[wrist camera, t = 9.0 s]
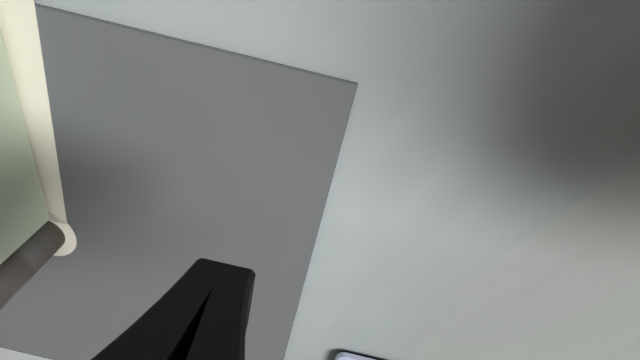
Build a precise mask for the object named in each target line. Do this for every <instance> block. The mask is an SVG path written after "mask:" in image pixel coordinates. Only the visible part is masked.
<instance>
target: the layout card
mask: <svg viewBox="0 0 640 360" xmlns="http://www.w3.org/2000/svg"><path fill="white" fill-rule="evenodd" d="M0 29H1V33H2V37H3V41H4V45H5V49H6V53H7V56H8V60H9V64H10V68H11V72H12V76H13V80H14V84H15V87H16V91H17V95H18V99H19V103H20V107H21V111H22V114H23V118H24V122H25V126H26V130H27V134H28V138H29V142H30V145H31V149H32V153H33V157H34V161H35V165H36V169H37V172H38V176H39V180H40V184H41V188H42V192H43V196H44V200H45V203H46V207H47V211H48V215H49V221H51V222H53V223H54V224H56V225H57V226H58V227H59V228H60V229H61V230H62V231H63V233H64V235H65V243H64V244H63V245H62V247H61V248H60V249H59V250H58V251H57V252H56V253H55V254H54V255H53V256H52V257H51V258H50V259H49V260H48V261H47V262H46V263H45V264H44V265H43V266H42V267H41V268H40V269H39V270H38V271H37V272H36V273H35V275H34V276H33V277H32V278H31V279H30V280H29V281H28V282H27V283H26V284H25V285H24V286H23V287H22V288H21V289H20V290H19V291H18V292H17V293H16V294H15V295H14V296H13V297H12V298H11V299H10V300H9V301H8V303H7V304H6V305H5V306H4V307H3V308H2V309H1V310H0V347H1V348H5V349H10V350H14V351H18V352H22V353H27V354H31V355H35V356H39V357H43V358H48V359H52V360H91V359H92V358H93V357H95V356H96V355H97V354H98V353H99V352H101V351H102V350H103V349H104V348H105V347H106V346H108V345H109V344H110V343H111V342H112V341H114V340H115V339H116V338H117V337H118V336H120V335H121V334H122V333H123V332H124V331H125V330H127V329H128V328H129V327H130V326H131V325H132V324H133V323H134V322H135V321H137V320H138V319H139V318H140V317H141V316H142V315H143V314H144V313H145V312H146V311H147V310H148V309H149V308H151V307H152V306H153V305H154V304H155V303H156V302H157V301H158V300H159V299H160V298H161V297H162V296H163V295H164V294H165V293H166V292H167V291H168V290H169V289H170V288H171V287H172V286H173V285H174V284H175V283H176V282H177V281H178V280H179V279H180V278H181V277H182V276H183V275H184V274H185V273H186V271H187V270H188V269H189V268H190V267H191V266H192V265H193V264H194V263H195V261H196V260H198V259H200V258H205V259H209V260H213V261H218V262H222V263H226V264H231V265H235V266H240V267H244V268H248V269H252V270H253V271H254V273H255V274H256V275H255V282H254V288H253V295H252V301H251V307H250V314H249V320H248V325H247V329H246V333H245V360H283V359H284V355H285V351H286V348H287V344H288V340H289V337H290V333H291V329H292V326H293V322H294V318H295V315H296V311H297V307H298V303H299V300H300V296H301V292H302V289H303V285H304V281H305V278H306V274H307V270H308V266H309V263H310V259H311V255H312V252H313V248H314V244H315V241H316V237H317V233H318V229H319V226H320V222H321V218H322V215H323V211H324V207H325V204H326V200H327V196H328V192H329V189H330V185H331V181H332V178H333V174H334V170H335V167H336V163H337V159H338V155H339V152H340V148H341V144H342V141H343V137H344V133H345V130H346V126H347V122H348V119H349V115H350V111H351V107H352V104H353V100H354V96H355V93H356V89H357V85H358V83H355V82H351V81H347V80H343V79H339V78H335V77H331V76H327V75H323V74H319V73H315V72H311V71H307V70H303V69H299V68H295V67H291V66H287V65H283V64H279V63H275V62H270V61H266V60H262V59H258V58H254V57H250V56H246V55H242V54H238V53H234V52H230V51H226V50H222V49H218V48H214V47H210V46H206V45H202V44H198V43H194V42H190V41H185V40H181V39H177V38H173V37H169V36H165V35H161V34H157V33H153V32H149V31H145V30H141V29H137V28H133V27H129V26H125V25H121V24H117V23H113V22H109V21H105V20H100V19H96V18H92V17H88V16H84V15H80V14H76V13H72V12H68V11H64V10H60V9H56V8H52V7H48V6H44V5H40V4H36V3H34V0H0Z"/></svg>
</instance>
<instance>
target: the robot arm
mask: <svg viewBox="0 0 640 360" xmlns="http://www.w3.org/2000/svg"><path fill="white" fill-rule="evenodd" d="M255 275H256V274H255V273H254V271H253V270H252V269H248V268H244V267H240V266H235V265H231V264H226V263H222V262H218V261H213V260H209V259H205V258H200V259H198V260H196V261H195V263H194V264H193V265H192V266H191V267H190V268H189V269H188V270H187V271H186V273H185V274H184V275H183V276H182V277H181V278H180V279H179V280H178V281H177V282H176V283H175V284H174V285H173V286H172V287H171V288H170V289H169V290H168V291H167V292H166V293H165V294H164V295H163V296H162V297H161V298H160V299H159V300H158V301H157V302H156V303H155V304H154V305H153V306H152V307H151V308H149V309H148V310H147V311H146V312H145V313H144V314H143V315H142V316H141V317H140V318H139V319H138V320H137V321H135V322H134V323H133V324H132V325H131V326H130V327H129V328H128V329H127V330H125V331H124V332H123V333H122V334H121V335H120V336H118V337H117V338H116V339H115V340H114V341H112V342H111V343H110V344H109V345H108V346H106V347H105V348H104V349H103V350H102V351H101V352H99V353H98V354H97V355H96V356H95V357H93V358H92V359H91V360H245V333H246V329H247V325H248V320H249V314H250V307H251V301H252V295H253V288H254V282H255ZM335 360H376V359H372V358H367V357H363V356H359V355H355V354H351V353H346V352H340V353H338V354H337V355H336V357H335Z"/></svg>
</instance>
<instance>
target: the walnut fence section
mask: <svg viewBox="0 0 640 360" xmlns="http://www.w3.org/2000/svg"><path fill="white" fill-rule="evenodd" d="M64 243H65V235H64V233H63V231H62V230H61V229H60V228H59V227H58V226H57V225H56V224H54V223H53V222H51V221H49V220H48V221H47V222H46V223H45V224H44V225H43V226H42V227H41V228H40V229H39V230H37V231H36V232H35V233H34V234H33V235H32V236H31V237H30V238H29V239H28V240H27V241H25V242H24V243H23V244H22V245H21V246H20V247H19V248H18V249H17V250H16V251H15V252H13V253H12V254H11V255H10V256H9V257H8V258H7V259H6V260H5V261H4V262H3V263H1V264H0V310H1V309H2V308H3V307H4V306H5V305H6V304H7V303H8V301H9V300H10V299H11V298H12V297H13V296H14V295H15V294H16V293H17V292H18V291H19V290H20V289H21V288H22V287H23V286H24V285H25V284H26V283H27V282H28V281H29V280H30V279H31V278H32V277H33V276H34V275H35V273H36V272H37V271H38V270H39V269H40V268H41V267H42V266H43V265H44V264H45V263H46V262H47V261H48V260H49V259H50V258H51V257H52V256H53V255H54V254H55V253H56V252H57V251H58V250H59V249H60V248H61V247H62V245H63V244H64Z"/></svg>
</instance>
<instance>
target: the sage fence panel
mask: <svg viewBox="0 0 640 360" xmlns="http://www.w3.org/2000/svg"><path fill="white" fill-rule="evenodd" d="M48 220H49V215H48V211H47V207H46V203H45V200H44V196H43V192H42V188H41V184H40V180H39V176H38V172H37V169H36V165H35V161H34V157H33V153H32V149H31V145H30V142H29V138H28V134H27V130H26V126H25V122H24V118H23V114H22V111H21V107H20V103H19V99H18V95H17V91H16V87H15V84H14V80H13V76H12V72H11V68H10V64H9V60H8V56H7V53H6V49H5V45H4V41H3V37H2V33H1V29H0V264H1V263H3V262H4V261H5V260H6V259H7V258H8V257H9V256H10V255H11V254H12V253H13V252H15V251H16V250H17V249H18V248H19V247H20V246H21V245H22V244H23V243H24V242H25V241H27V240H28V239H29V238H30V237H31V236H32V235H33V234H34V233H35V232H36V231H37V230H39V229H40V228H41V227H42V226H43V225H44V224H45V223H46V222H47V221H48Z"/></svg>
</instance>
